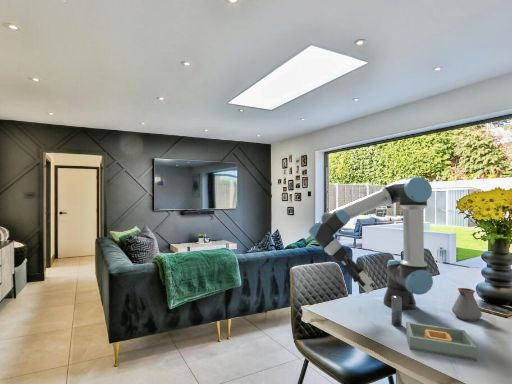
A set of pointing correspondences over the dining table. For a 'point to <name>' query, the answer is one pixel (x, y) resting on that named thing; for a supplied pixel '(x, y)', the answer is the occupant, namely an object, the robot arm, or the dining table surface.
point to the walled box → (440, 341)
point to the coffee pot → (466, 305)
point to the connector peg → (396, 310)
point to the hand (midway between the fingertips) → (370, 287)
